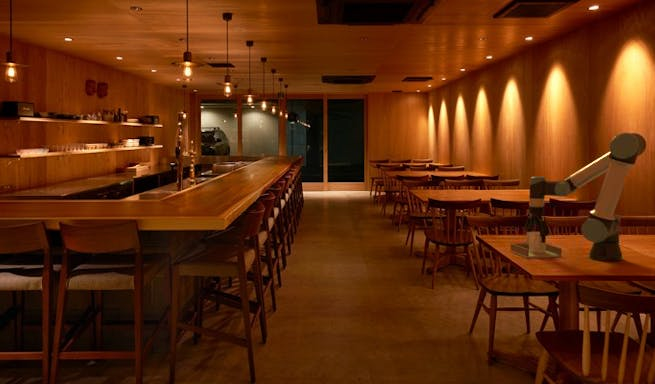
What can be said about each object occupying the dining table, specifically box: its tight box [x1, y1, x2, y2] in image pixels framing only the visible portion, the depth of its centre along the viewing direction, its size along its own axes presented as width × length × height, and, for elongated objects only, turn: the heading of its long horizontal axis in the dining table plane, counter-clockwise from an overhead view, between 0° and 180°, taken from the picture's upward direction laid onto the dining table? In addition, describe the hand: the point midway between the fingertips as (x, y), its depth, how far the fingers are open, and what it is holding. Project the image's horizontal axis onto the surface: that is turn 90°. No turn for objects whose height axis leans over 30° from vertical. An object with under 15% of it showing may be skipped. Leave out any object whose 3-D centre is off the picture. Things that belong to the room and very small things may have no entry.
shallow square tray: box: [509, 242, 562, 259], centre depth 303 cm, size 18×19×4 cm
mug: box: [529, 231, 547, 253], centre depth 302 cm, size 12×8×10 cm
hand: (535, 246), depth 303 cm, fingers open, 13 cm apart
